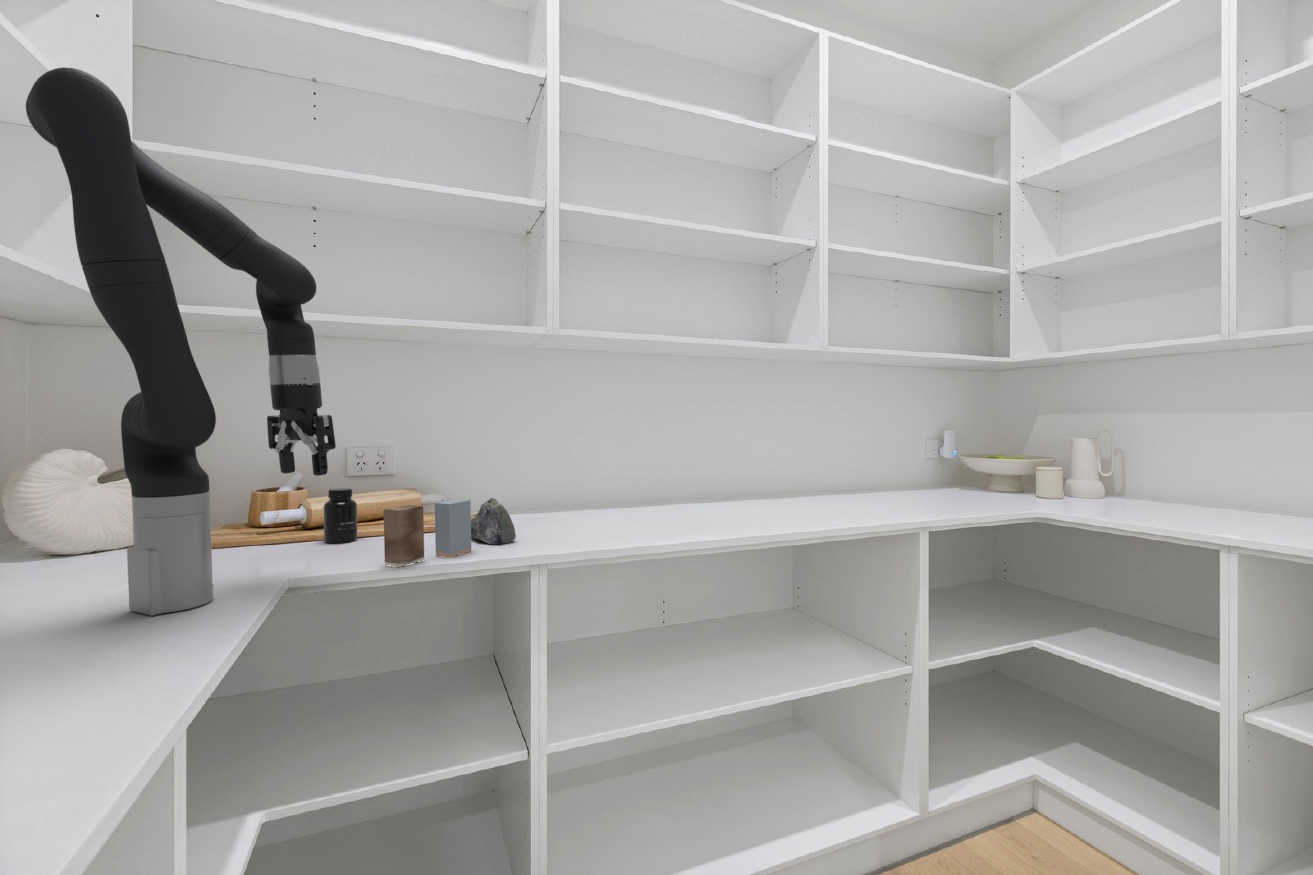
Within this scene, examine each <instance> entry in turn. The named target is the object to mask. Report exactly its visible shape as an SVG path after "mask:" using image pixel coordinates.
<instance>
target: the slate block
mask: <svg viewBox="0 0 1313 875" xmlns="http://www.w3.org/2000/svg"><path fill="white" fill-rule="evenodd" d="M471 506H472V504H471V499H461V498H460V499H457V498H454V499H448V500H444V501H439V502H437V501H436V502H434V525H435V526H434V527H435V528H434V531H435V534H434V535H435V541H434V542H435V556H436V555H438V556H437V557H439V556H445V557H444V558H446V557H452V558H454V557H453V556H456V555H458V554H462V555H465V554H468V553H467V552H469V553H471V552H472V536H471V521H472V519H471V518H472V517H471V516H472V515H471V512H472V511H471ZM470 551H471V552H470ZM464 553H465V554H464ZM456 557H457V556H456Z"/></svg>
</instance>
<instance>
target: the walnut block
mask: <svg viewBox="0 0 1313 875" xmlns="http://www.w3.org/2000/svg"><path fill="white" fill-rule="evenodd" d="M424 520H425V519H424V505H415V504H406V505H400V506H399V505H398V506H394V507H390V508H384V509H383V535H384V537H383V538H384V539H383V540H384V541H383V542H384V566H385V565H391V566H395V567H400V568H399V569H402V568H401V567H402V566H405V565H407V564H410V563H416V562H418V561H422V560H424V561H425V528H424V527H425V526H424V522H425V521H424ZM416 564H417V563H416ZM395 567H394V568H395Z"/></svg>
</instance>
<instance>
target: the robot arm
mask: <svg viewBox="0 0 1313 875" xmlns="http://www.w3.org/2000/svg"><path fill="white" fill-rule="evenodd" d="M25 112H26V116H27V118H28V121H29V123H30V124H31V126H32V128H33V129H34V131H35V132H36V133H37V134H38V135H39V137H41V138H42V139H43V140H45V141H46V142H47V143H49V145H52V146H53V147H55V148H56V150H57V151H58V154H59V157H60V159H61V162H62V165H63V167H64V169H65V173H66V176H67V179H68V182H69V186H70V192H71V203H72V214H73V227H74V235H75V236H74V237H75V243H76V248H77V253H78V258H79V262H80V266H81V268H82V272H83V274H84V277H85V281H86V283H87V287H88V289H89V293H90V295H91V297H92V300H93V302H94V305H95V306H96V309H97V310H98V311H99V313H100V314H101V315H102V317H103V319H104V320H105V322H106V323H107V325H108V326H109V327H110V329H111V330H112V331H113V333H114V334H115V336H116V337H117V338H118V340H119V341H120V343H121V344H122V346H123V347H124V348H125V350H126V351H127V354H128V356H129V357H130V360H131V361H132V364H133V367H134V370H135V374H136V377H137V381H138V385H139V389H140V392H138V393H136V394H135V395H133V396H132V397H130V398H129V399H128V401H127V402H126V403H125V405H124V407H123V410H122V414H121V419H120V422H121V423H120V430H121V432H120V434H121V443H122V444H121V446H122V456H123V467H124V473H125V475H126V478H127V480H128V482H129V484H130V491H131V499H132V500H131V503H132V504H131V506H132V531H133V532H132V535H133V538H132V539H133V546H132V545H131V546H128V547H127V549H126V557H127V558H126V559H127V561H126V562H127V579H128V580H127V581H128V582H127V583H128V604H129V611H132V612H135V613H139V614H143V615H146V616H157V615H160V614H167V613H173V612H180V611H184V610H189V609H193V608H197V607H200V606H204V605H206V604H208V603H210V602H212V601H213V600H214V584H213V582H214V581H213V559H212V558H213V555H212V554H213V553H212V529H211V526H212V525H211V498H210V497H211V496H210V494H211V493H210V479H209V475H208V473H207V472H206V471H205V469H203V468H202V466H201V465H200V463H199V460H198V458H197V450H196V448H198V447H200V446H202V445H204V444H205V443H206V442H207V441H208V440H209V439H211V436H212V435H213V433H214V431H215V428H216V423H217V417H216V416H217V415H216V410H215V407H214V404H213V401H212V399H211V397H210V394H209V392H208V390H207V388H206V386H205V383H204V381H203V377H202V375H201V373H200V371H199V368H198V366H197V364H196V361H195V359H194V356H193V353H192V350H191V348H190V347H191V346H190V344H189V341H188V336H187V333H186V329H185V325H184V322H183V321H184V320H183V319H182V316H181V312H180V308H179V306H178V301H177V297H176V293H175V289H174V285H173V282H172V278H171V275H170V272H169V268H168V265H167V262H166V259H165V258H166V257H165V255H164V252H163V250H162V247H161V244H160V240H159V238H158V234H157V231H156V228H155V225H154V222H153V219H152V216H151V213H150V210H149V208H150V209H152V210H153V211H154V212H156V213H157V214H159V215H161V216H162V217H163V218H164V219H166V220H167V221H168V222H169V223H171V224H173V226H174V227H176V228H177V229H179V230H180V231H182V232H183V233H184V234H185V235H186V236H188V237H189V238H190V239H192V240H193V241H194V242H195V243H197V244H198V245H199V246H200V247H202V248H203V249H205V251H207V252H208V253H209V254H211V255H212V256H213V257H214V258H216V259H217V260H219V262H221V263H222V264H224V265H225V266H227V267H228V268H230V269H232V270H235V271H242V272H245V273H247V274H248V275H249V276H251V277H252V278H254V279H256V283H255V293H256V299H257V304H258V307H259V310H260V314H261V317H262V320H263V323H264V325H265V328H266V329H265V330H266V337H267V339H266V340H267V347H268V348H267V349H268V350H267V351H268V377H269V378H268V379H269V388H270V398H271V406H272V407H271V408H272V409H273V410H274V411H279V414H276V415H275V414H273V415H267V417H266V423H267V425H266V426H267V437H268V438H267V440H268V448H269V449H271V450H272V449H273V450H274V451H275V452H276V453H278V460H279V467H280V472H281V474H292V473H295V472H296V462H295V456H294V455H295V453H294V451H293V450H294V448H295V446H296V443H298V442H299V441H301V442H302V444H304V445H306V446H308V448H309V450H310V452H311V453H312V454H311V461H312V463H311V465H312V473H313V476H316V477H317V476H323V475H324V476H325V475H327V474H328V470H329V467H328V466H329V465H328V455H327V454H328V452H329V451H331V450H335V449H336V445H337V444H336V437H335V431H334V430H335V429H334V423H333V417H332V415H331V414H321V415H319V414H318V409H321V408H322V407H323V399H322V389H321V388H322V387H321V378H320V376H321V375H320V368H319V367H320V366H319V364H318V358H317V349H316V342H315V341H316V340H315V334H314V330H313V329H314V328H313V327H312V325H311V324H310V323H308V322H306V321H305V319H304V318H305V317H304V314H303V308H302V305H304V304H307V303H309V302H310V301H311V300H313V299H314V297H315V295H316V294H317V282H316V280H315V278H314V276H313V274H312V273H311V271H310V270H309V269H308V268H307V267H306V266H305V265H304V264H303V263H301V262H300V261H299V260H297V259H296V258H295V257H293V256H292V255H290V254H289V253H288V252H285V251H284V250H282V249H281V248H279V247H277V246H276V245H275V244H273V243H271V242H269V241H268V240H266V239H263V237H261V236H260V235H259V234H257V233H256V232H255V231H254V230H253V229H252V228H250V226H249V225H248V224H246V223H245V222H244V221H242V220H241V219H240V218H239V217H238V216H236V214H234V213H233V212H232V211H231V210H229V209H228V208H226V206H224V205H223V204H222V203H220V202H218V201H217V200H216V199H214V198H213V197H212V196H210V195H208V194H207V193H205V192H203V191H201V190H200V189H198V188H197V187H195V186H193V185H191V183H188V182H187V181H185V180H183V179H181V178H180V177H179V176H176V175H175V174H174V173H172V172H170V171H169V170H167V169H166V168H164V167H163V166H162V165H160V164H159V163H158V162H156V161H155V160H154V159H152V158H151V157H150V156H148V154H146V153H145V152H144V151H143V150H142V149H141V148H140V147H138V145H137V144H135V143H134V142H133V140H132V137H131V131H130V124H129V119H128V118H129V117H128V115H127V113H126V110H125V107H124V106H123V104H122V102H121V101H120V99H119V97H118V96H117V95H116V93H115V92H114V91H113V90H112V89H111V88H110V87H109V86H108V85H107V84H106V83H105V82H103V81H102V80H100V79H99V78H98V77H96V76H94V75H92V74H91V73H89V72H87V71H84V70H82V69H78V68H74V67H58V68H52V69H50V70H48V71H46V72H44V73H43V74H42V75H40V76H39V77H38V78H36V80H35V82H34V83H33V85H32V86H31V89H30V91H29V93H28V94H27V98H26V101H25ZM148 207H149V208H148ZM276 436H277V437H276ZM325 436H326V437H327V442H326V441H325V440H326V437H325ZM276 440H277V441H276Z"/></svg>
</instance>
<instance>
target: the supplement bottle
mask: <svg viewBox="0 0 1313 875" xmlns="http://www.w3.org/2000/svg"><path fill="white" fill-rule="evenodd" d="M327 498H328V501H326V502H325V503H324V504H323V540H324V543H326V544H333V545H334V544H346V543H351V541H352V542H355V541H356V540H357V538H358V504H357V502H356V501H355V500H354V499H352V498H353V489H352V488H345V487H344V488H340V487H339V488H331V489H328V497H327ZM354 540H355V541H354Z"/></svg>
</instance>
